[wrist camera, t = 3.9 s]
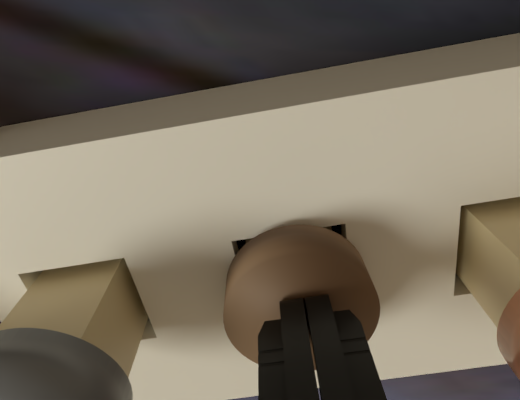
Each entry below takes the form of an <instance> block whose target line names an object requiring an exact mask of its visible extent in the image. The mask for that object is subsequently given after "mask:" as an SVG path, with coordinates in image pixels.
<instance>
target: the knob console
mask: <svg viewBox="0 0 520 400" xmlns="http://www.w3.org/2000/svg"><path fill="white" fill-rule="evenodd" d="M515 197H520V33H516V34H511V35H505V36H500V37H494V38H489V39H483V40H477V41H472V42H466V43H461V44H455V45H450V46H444V47H439V48H433V49H428V50H422V51H417V52H411V53H406V54H400V55H395V56H389V57H383V58H378V59H372V60H367V61H361V62H356V63H350V64H345V65H339V66H334V67H328V68H323V69H317V70H312V71H306V72H301V73H295V74H289V75H284V76H278V77H273V78H267V79H262V80H256V81H251V82H245V83H240V84H234V85H229V86H223V87H218V88H212V89H206V90H201V91H195V92H190V93H184V94H179V95H173V96H168V97H162V98H157V99H151V100H146V101H140V102H135V103H129V104H124V105H118V106H112V107H107V108H101V109H96V110H90V111H85V112H79V113H74V114H68V115H63V116H57V117H52V118H46V119H41V120H35V121H29V122H24V123H18V124H13V125H7V126H2V127H0V321H1V322H3V320H4V319H5V318H6V317H7V315H8V314H9V313H10V312H11V310H12V309H13V308H14V307H15V305H16V304H17V303H18V301H19V300H20V299H21V298H22V296H23V295H24V294H25V293H26V291H27V290H28V289H29V288H30V286H31V285H32V284H33V282H34V281H35V280H36V279H37V277H38V276H39V275H40V274H41V272H42V271H43V270H49V269H55V268H62V267H68V266H75V265H81V264H88V263H94V262H101V261H107V260H114V259H120V258H124V259H125V261H126V264H127V266H128V268H129V271H130V273H131V276H132V278H133V281H134V283H135V286H136V288H137V290H138V293H139V295H140V298H141V300H142V303H143V305H144V307H145V310H146V312H147V315H148V320H147V323H146V326H145V329H144V332H143V335H142V338H141V341H140V344H139V347H138V350H137V353H136V356H135V359H134V362H133V365H132V368H131V371H130V374H129V377H128V379H129V381H130V384H131V387H132V392H133V400H227V399H235V398H243V397H251V396H258V364H257V363H255V362H253V361H251V360H249V359H248V358H246V357H245V356H244V355H242V354H241V353H240V352H239V351H238V350H237V349H236V348H235V347H234V346H233V344H232V343H231V341H230V340H229V338H228V336H227V334H226V331H225V328H224V323H223V310H224V299H225V289H226V279H227V273H228V269H229V266H230V264H231V262H232V260H233V258H234V257H235V255H236V254H237V252H238V251H239V250H238V246H237V242H236V241H237V240H243V239H250V238H254V237H256V236H258V235H259V234H261V233H263V232H266V231H268V230H271V229H274V228H277V227H281V226H286V225H296V224H304V225H314V226H319V227H327V226H334V225H340V224H341V235H342V236H343V237H344V238H346V239H347V240H348V241H350V242H351V243H352V244H353V245H354V246H355V248H356V249H357V250H358V252H359V253H360V255H361V257H362V259H363V261H364V263H365V266H366V268H367V270H368V273H369V275H370V277H371V280H372V282H373V284H374V287H375V289H376V291H377V294H378V297H379V301H380V317H379V321H378V324H377V327H376V329H375V331H374V333H373V335H372V336H371V338H370V339H369V340H368V345H369V348H370V352H371V354H372V357H373V360H374V363H375V366H376V369H377V372H378V375H379V378H380V380H384V379H391V378H399V377H407V376H415V375H423V374H430V373H438V372H446V371H454V370H462V369H469V368H477V367H485V366H493V365H501V364H508V363H507V362H506V360H505V359H504V357H503V356H502V354H501V353H500V350H499V348H498V344H497V327H496V326H495V324H494V323H493V322H492V320H491V319H490V318H489V316H488V315H487V314H486V312H485V311H484V310H483V308H482V307H481V306H480V304H479V303H478V302H477V300H476V299H475V298H474V296H473V295H472V294H471V292H470V291H469V290H468V289H467V287H466V286H465V285H464V283H463V282H462V281H461V279H460V278H459V277H458V275H457V274H456V261H457V248H458V236H459V224H460V211H461V206H463V205H470V204H476V203H482V202H489V201H495V200H502V199H508V198H515ZM315 376H316V382H317V388H319V383H318V377H317V371H316V370H315Z"/></svg>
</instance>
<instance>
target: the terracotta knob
mask: <svg viewBox="0 0 520 400" xmlns="http://www.w3.org/2000/svg"><path fill="white" fill-rule="evenodd" d="M456 274H457V275H458V277H459V278H460V279H461V281H462V282H463V283H464V285H465V286H466V287H467V289H468V290H469V291H470V292H471V294H472V295H473V296H474V298H475V299H476V300H477V302H478V303H479V304H480V306H481V307H482V308H483V310H484V311H485V312H486V314H487V315H488V316H489V318H490V319H491V320H492V322H493V323H494V324H495V326H496V327H497V344H498V348H499V350H500V353H501V354H502V356H503V357H504V359H505V360H506V362H507V363H508V365H509V366H510V367H511V369H512V370H513V372H514V373H515V374H516V376H517V377H518V379H519V380H520V197H515V198H508V199H502V200H495V201H489V202H482V203H476V204H470V205H463V206H461V211H460V224H459V236H458V248H457V261H456Z"/></svg>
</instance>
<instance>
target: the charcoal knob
mask: <svg viewBox="0 0 520 400" xmlns="http://www.w3.org/2000/svg"><path fill="white" fill-rule="evenodd" d="M147 320H148V315H147V312H146V310H145V307H144V305H143V303H142V300H141V298H140V295H139V293H138V290H137V288H136V286H135V283H134V281H133V278H132V276H131V273H130V271H129V268H128V266H127V264H126V261H125V259H124V258H120V259H114V260H107V261H101V262H94V263H88V264H81V265H75V266H68V267H62V268H55V269H49V270H43V271H42V272H41V274H40V275H39V276H38V277H37V279H36V280H35V281H34V282H33V284H32V285H31V286H30V288H29V289H28V290H27V291H26V293H25V294H24V295H23V296H22V298H21V299H20V300H19V301H18V303H17V304H16V305H15V307H14V308H13V309H12V310H11V312H10V313H9V314H8V315H7V317H6V318H5V319H4V320H3V322H2V323H1V324H0V400H133V392H132V387H131V384H130V381H129V379H128V377H129V374H130V371H131V368H132V365H133V362H134V359H135V356H136V353H137V350H138V347H139V344H140V341H141V338H142V335H143V332H144V329H145V326H146V323H147Z"/></svg>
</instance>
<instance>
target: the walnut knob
mask: <svg viewBox="0 0 520 400" xmlns="http://www.w3.org/2000/svg"><path fill="white" fill-rule="evenodd" d="M326 294H328V295H329V298H330V302H331V306H332V310H333V312H334V311H341V310H350V311H351V312H352V313H353V314H354V315H355V316H356V317H357V318H358V319H359V320H360V321H361V324H362V327H363V330H364V333H365V336H366V340H367V342H368V340H369V339H370V338H371V336H372V335H373V333H374V331H375V329H376V327H377V324H378V321H379V317H380V301H379V297H378V294H377V291H376V289H375V287H374V284H373V282H372V280H371V277H370V275H369V273H368V270H367V268H366V266H365V263H364V261H363V259H362V257H361V255H360V253H359V252H358V250H357V249H356V248H355V246H354V245H353V244H352V243H351V242H350V241H348V240H347V239H346V238H344V237H343V236H342V235H340V234H338V233H336V232H334V231H332V228H331V226H327V227H319V226H314V225H304V224H296V225H286V226H281V227H277V228H274V229H271V230H268V231H266V232H263V233H261V234H259V235H258V236H256V237H254V238H250V239H246V244H245V245H244V246H243V247H242V248H241V249H240V250H239V251H238V252H237V254H236V255H235V257H234V258H233V260H232V262H231V264H230V266H229V269H228V273H227V279H226V289H225V299H224V310H223V323H224V328H225V331H226V334H227V336H228V338H229V340H230V341H231V343H232V344H233V346H234V347H235V348H236V349H237V350H238V351H239V352H240V353H241V354H242V355H244V356H245V357H246V358H248V359H249V360H251V361H253V362H255V363H257V364H258V334H259V332H260V330H261V328H262V326H263V324H264V321H270V320H277V319H281V317H280V305H279V301H284V300H291V299H298V298H303V303H304V309H305V315H306V321H307V327H308V334H309V340H310V346H311V352H312V358H313V364H314V370H316V365H315V360H314V354H313V348H312V341H311V335H310V329H309V322H308V316H307V309H306V303H305V297H312V296H319V295H326Z"/></svg>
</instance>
